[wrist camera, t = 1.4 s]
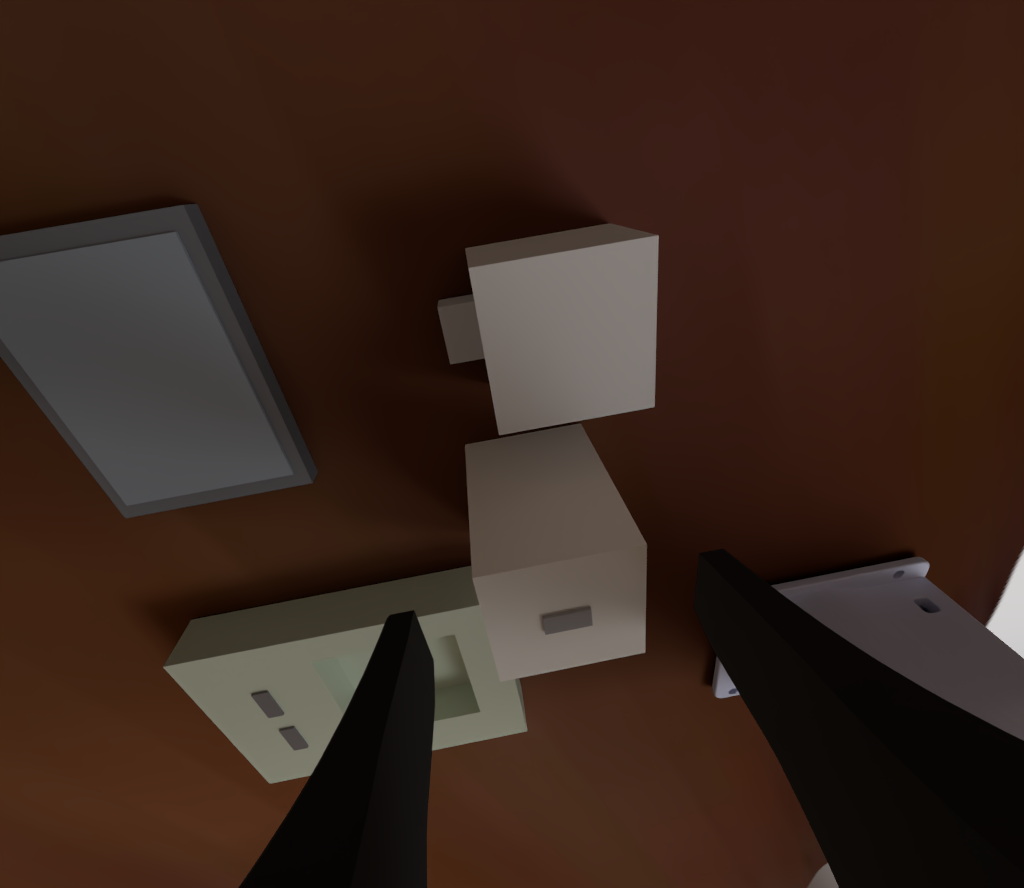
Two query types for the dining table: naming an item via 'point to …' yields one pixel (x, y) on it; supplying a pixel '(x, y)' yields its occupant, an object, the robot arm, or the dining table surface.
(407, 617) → the robot arm
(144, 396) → the phone
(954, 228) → the dining table surface
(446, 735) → the outlet plate
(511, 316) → the cable plug
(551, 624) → the charger
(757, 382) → the dining table surface
